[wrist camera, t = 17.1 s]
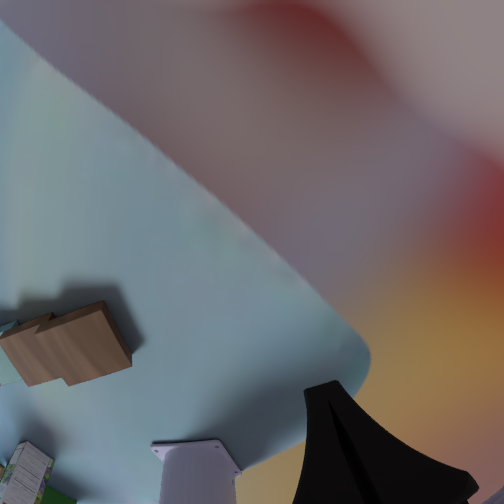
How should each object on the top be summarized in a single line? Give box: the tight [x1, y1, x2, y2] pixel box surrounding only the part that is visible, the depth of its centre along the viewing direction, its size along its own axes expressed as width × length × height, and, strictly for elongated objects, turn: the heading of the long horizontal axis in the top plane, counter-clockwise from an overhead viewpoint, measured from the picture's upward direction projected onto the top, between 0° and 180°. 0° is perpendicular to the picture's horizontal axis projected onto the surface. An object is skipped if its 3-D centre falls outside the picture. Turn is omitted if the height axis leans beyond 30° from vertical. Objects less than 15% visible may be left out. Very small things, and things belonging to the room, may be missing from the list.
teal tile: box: [0, 320, 22, 385], centre depth 18 cm, size 2×5×6 cm
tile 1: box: [34, 300, 132, 386], centre depth 18 cm, size 2×5×6 cm
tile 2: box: [0, 312, 61, 387], centre depth 17 cm, size 2×5×6 cm
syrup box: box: [0, 441, 55, 504], centre depth 20 cm, size 6×6×14 cm
